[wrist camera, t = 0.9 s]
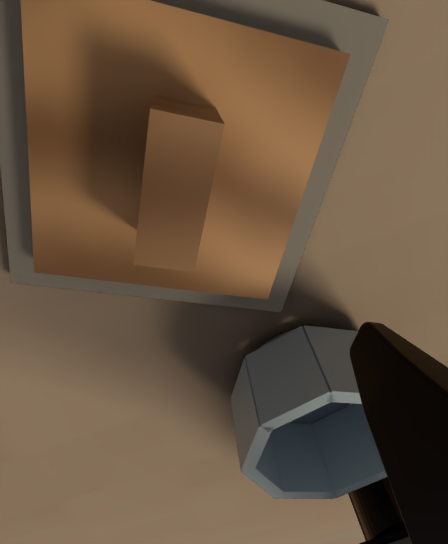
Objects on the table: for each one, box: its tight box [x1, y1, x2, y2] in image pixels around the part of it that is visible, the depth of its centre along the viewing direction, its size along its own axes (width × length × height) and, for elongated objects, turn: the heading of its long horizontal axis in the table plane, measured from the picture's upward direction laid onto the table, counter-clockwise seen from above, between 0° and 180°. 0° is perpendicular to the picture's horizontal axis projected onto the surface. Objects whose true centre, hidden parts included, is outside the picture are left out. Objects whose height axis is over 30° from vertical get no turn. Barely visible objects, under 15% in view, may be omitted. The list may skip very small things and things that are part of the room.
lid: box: [21, 0, 351, 300], centre depth 16 cm, size 12×12×4 cm
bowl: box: [230, 326, 387, 499], centre depth 24 cm, size 10×10×6 cm
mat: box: [0, 0, 389, 312], centre depth 18 cm, size 15×15×1 cm
